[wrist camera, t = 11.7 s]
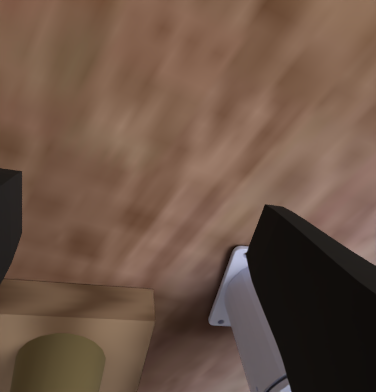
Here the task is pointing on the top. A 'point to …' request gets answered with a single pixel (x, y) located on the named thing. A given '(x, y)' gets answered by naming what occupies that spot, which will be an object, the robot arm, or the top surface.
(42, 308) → the walnut block
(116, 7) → the top surface
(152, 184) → the top surface
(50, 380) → the cork
